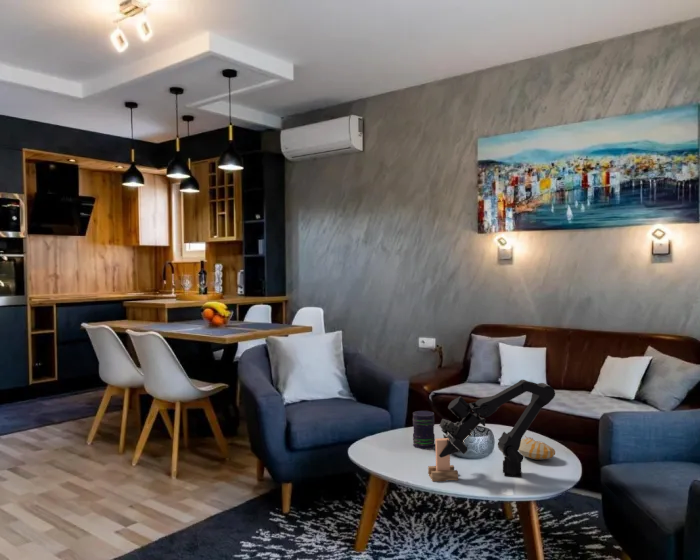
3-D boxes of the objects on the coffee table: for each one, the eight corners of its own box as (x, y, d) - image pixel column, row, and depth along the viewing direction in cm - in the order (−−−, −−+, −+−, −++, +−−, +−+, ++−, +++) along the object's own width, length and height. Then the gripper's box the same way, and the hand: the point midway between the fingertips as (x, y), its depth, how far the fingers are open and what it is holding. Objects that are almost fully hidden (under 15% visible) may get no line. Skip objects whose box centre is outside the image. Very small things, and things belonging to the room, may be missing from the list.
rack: (452, 472, 226) (452, 464, 226) (458, 480, 218) (458, 472, 218) (428, 473, 225) (428, 465, 225) (432, 481, 217) (432, 473, 217)
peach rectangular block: (448, 470, 223) (448, 438, 222) (450, 473, 220) (449, 440, 220) (436, 471, 222) (435, 438, 222) (437, 473, 220) (436, 440, 220)
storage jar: (432, 442, 266) (431, 410, 265) (437, 448, 256) (436, 415, 256) (411, 442, 265) (410, 411, 265) (415, 449, 255) (414, 416, 255)
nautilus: (512, 449, 255) (547, 451, 253) (519, 462, 234) (557, 465, 232) (513, 431, 256) (547, 434, 253) (520, 443, 234) (558, 446, 232)
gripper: (446, 406, 230) (419, 434, 230) (458, 418, 212) (429, 449, 211) (465, 424, 231) (439, 453, 231) (479, 438, 213) (450, 469, 212)
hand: (439, 455), depth 221 cm, fingers closed on peach rectangular block, 2 cm apart
